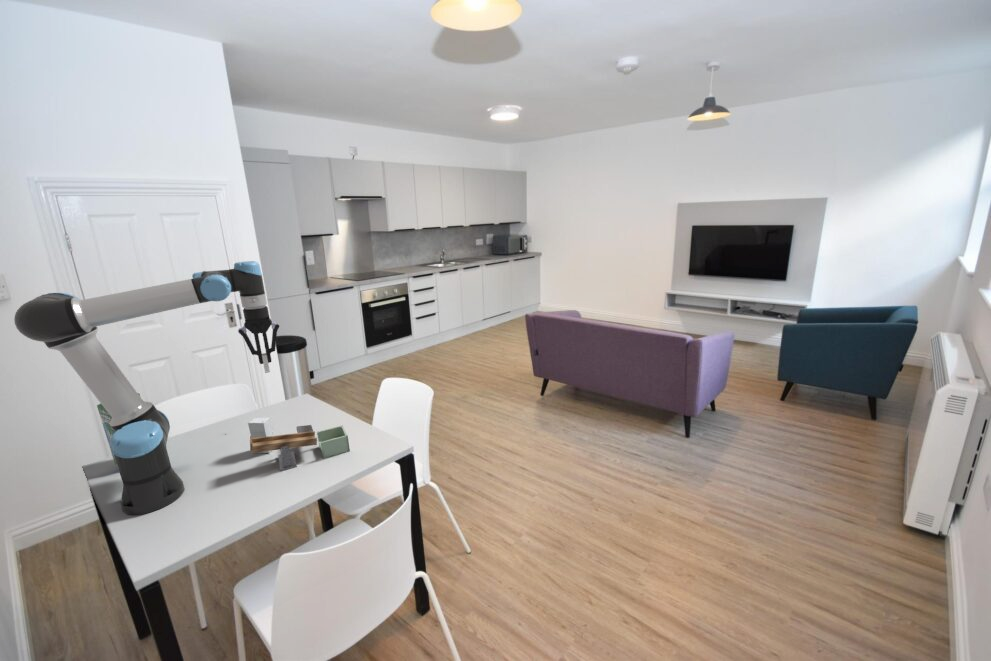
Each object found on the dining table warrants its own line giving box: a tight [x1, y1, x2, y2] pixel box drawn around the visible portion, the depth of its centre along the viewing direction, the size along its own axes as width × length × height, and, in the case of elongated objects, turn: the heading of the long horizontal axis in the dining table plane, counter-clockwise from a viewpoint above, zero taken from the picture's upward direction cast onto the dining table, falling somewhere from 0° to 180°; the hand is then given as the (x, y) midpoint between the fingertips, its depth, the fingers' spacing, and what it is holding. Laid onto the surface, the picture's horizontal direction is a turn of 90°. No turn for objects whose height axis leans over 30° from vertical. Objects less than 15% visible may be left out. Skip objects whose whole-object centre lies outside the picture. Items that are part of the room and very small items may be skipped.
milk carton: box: [96, 392, 141, 466], centre depth 150 cm, size 9×9×25 cm
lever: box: [249, 424, 318, 454], centre depth 151 cm, size 20×15×3 cm
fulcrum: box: [277, 434, 297, 472], centre depth 148 cm, size 5×10×8 cm, turn 29°
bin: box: [316, 424, 351, 459], centre depth 155 cm, size 9×9×6 cm
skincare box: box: [247, 417, 275, 454], centre depth 156 cm, size 6×4×12 cm
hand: (267, 371), depth 155 cm, fingers closed
